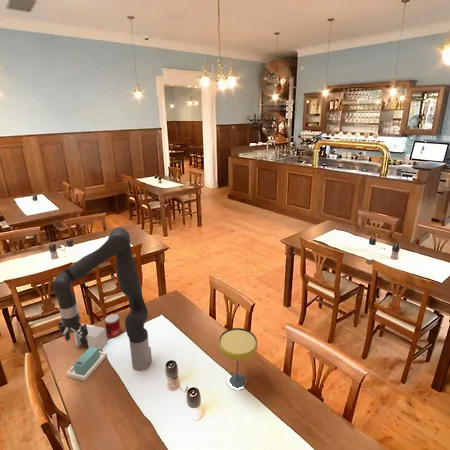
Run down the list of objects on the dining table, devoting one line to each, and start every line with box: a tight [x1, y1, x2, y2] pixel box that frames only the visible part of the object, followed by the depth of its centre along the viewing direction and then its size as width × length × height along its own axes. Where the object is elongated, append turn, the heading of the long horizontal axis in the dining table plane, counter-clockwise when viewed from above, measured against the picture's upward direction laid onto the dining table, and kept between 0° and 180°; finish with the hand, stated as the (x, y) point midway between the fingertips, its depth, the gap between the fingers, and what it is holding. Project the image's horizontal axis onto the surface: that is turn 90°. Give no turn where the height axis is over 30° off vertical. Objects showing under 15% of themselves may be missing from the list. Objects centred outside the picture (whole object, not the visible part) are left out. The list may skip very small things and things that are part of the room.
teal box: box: [72, 346, 100, 376], centre depth 161 cm, size 5×13×7 cm, turn 165°
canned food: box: [104, 313, 122, 338], centre depth 185 cm, size 8×8×11 cm
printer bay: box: [72, 323, 108, 351], centre depth 176 cm, size 15×8×10 cm, turn 75°
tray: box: [66, 350, 108, 382], centre depth 162 cm, size 11×18×3 cm, turn 165°
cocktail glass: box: [218, 327, 258, 388], centre depth 150 cm, size 18×18×25 cm
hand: (75, 341), depth 151 cm, fingers open, 8 cm apart
